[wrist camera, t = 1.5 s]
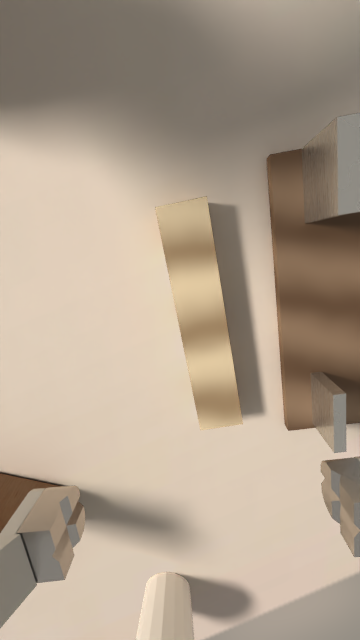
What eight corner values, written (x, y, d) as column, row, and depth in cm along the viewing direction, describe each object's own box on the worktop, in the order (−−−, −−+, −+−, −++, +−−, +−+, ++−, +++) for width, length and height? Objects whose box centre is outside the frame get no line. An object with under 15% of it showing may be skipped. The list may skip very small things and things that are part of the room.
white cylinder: (150, 562, 33) (140, 642, 26) (202, 577, 33) (206, 659, 27) (134, 598, 35) (121, 683, 28) (184, 612, 35) (183, 699, 28)
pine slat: (159, 212, 23) (155, 207, 20) (204, 203, 23) (206, 196, 20) (199, 411, 28) (200, 430, 25) (237, 405, 28) (242, 423, 25)
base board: (266, 158, 22) (270, 154, 21) (420, 131, 21) (431, 125, 20) (284, 424, 28) (288, 430, 27) (405, 410, 27) (413, 416, 26)
